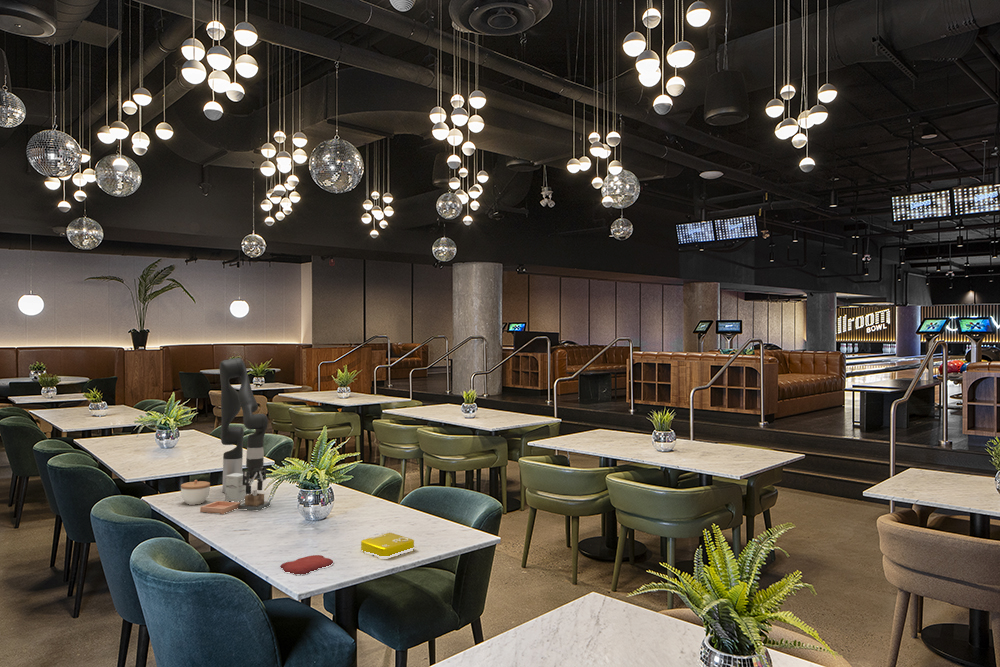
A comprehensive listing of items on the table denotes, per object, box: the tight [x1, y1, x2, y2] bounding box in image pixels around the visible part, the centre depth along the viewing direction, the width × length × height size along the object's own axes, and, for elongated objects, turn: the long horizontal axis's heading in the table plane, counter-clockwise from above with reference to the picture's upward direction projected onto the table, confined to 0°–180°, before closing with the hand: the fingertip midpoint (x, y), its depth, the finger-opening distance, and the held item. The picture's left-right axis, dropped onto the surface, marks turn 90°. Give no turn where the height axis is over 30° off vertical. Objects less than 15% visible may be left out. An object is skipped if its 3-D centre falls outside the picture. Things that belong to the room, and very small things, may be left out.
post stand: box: [237, 489, 271, 511], centre depth 292 cm, size 10×10×8 cm
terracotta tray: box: [199, 500, 242, 515], centre depth 287 cm, size 12×12×2 cm
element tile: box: [360, 532, 415, 556], centre depth 233 cm, size 15×15×5 cm
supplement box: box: [224, 473, 248, 502], centre depth 306 cm, size 7×7×13 cm
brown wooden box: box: [244, 492, 265, 506], centre depth 292 cm, size 6×6×4 cm
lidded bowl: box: [180, 479, 211, 506], centre depth 300 cm, size 13×13×11 cm
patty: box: [280, 554, 334, 575], centre depth 216 cm, size 18×14×2 cm
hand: (254, 492), depth 292 cm, fingers open, 8 cm apart
